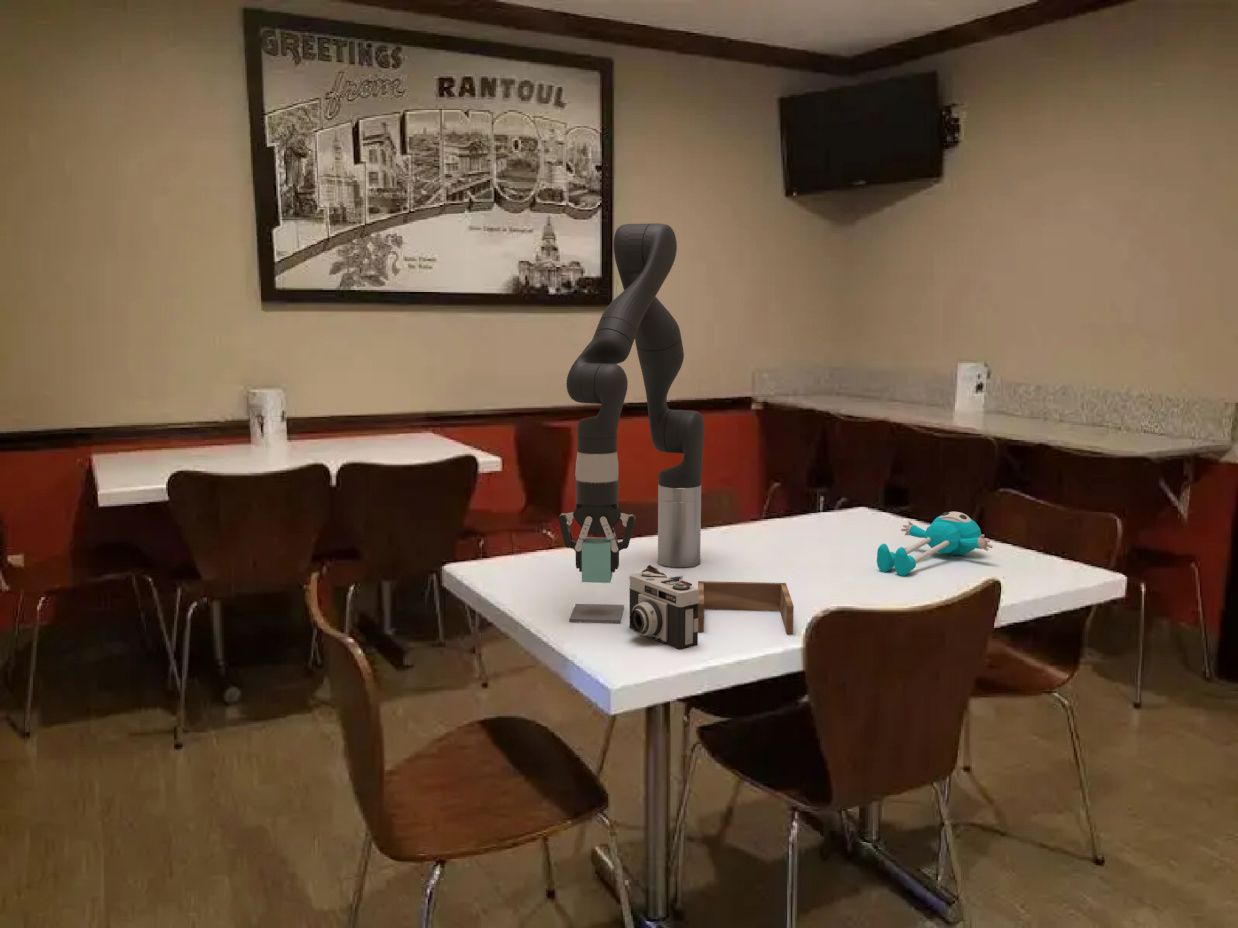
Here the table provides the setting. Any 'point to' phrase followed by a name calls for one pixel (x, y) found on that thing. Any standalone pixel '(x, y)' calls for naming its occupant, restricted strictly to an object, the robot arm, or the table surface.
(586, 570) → the block
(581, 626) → the table surface
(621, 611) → the mat
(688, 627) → the camera
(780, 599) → the bay
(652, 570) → the toy
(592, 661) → the table surface
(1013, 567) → the table surface
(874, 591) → the table surface
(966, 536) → the toy
